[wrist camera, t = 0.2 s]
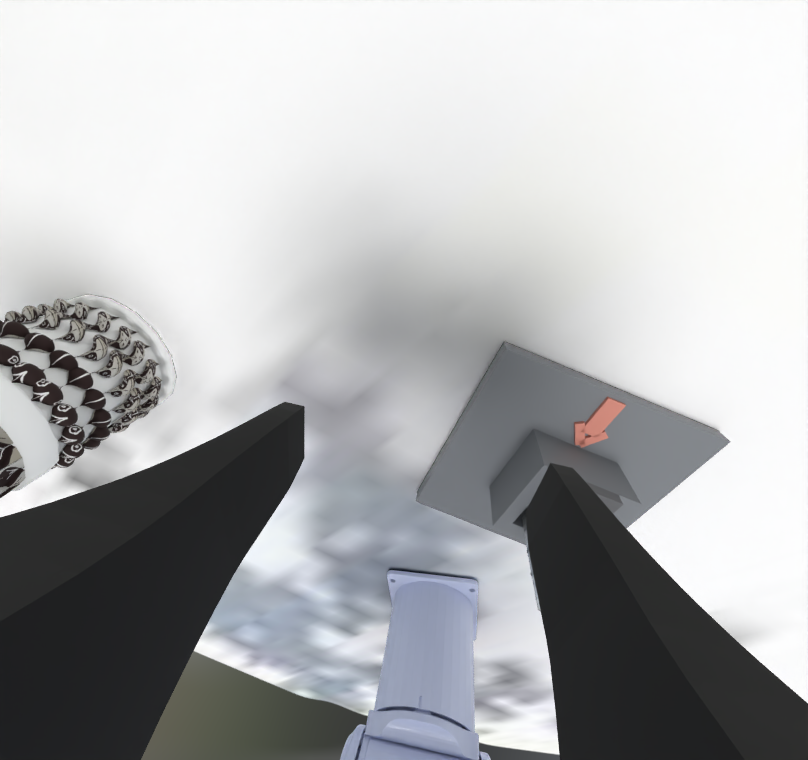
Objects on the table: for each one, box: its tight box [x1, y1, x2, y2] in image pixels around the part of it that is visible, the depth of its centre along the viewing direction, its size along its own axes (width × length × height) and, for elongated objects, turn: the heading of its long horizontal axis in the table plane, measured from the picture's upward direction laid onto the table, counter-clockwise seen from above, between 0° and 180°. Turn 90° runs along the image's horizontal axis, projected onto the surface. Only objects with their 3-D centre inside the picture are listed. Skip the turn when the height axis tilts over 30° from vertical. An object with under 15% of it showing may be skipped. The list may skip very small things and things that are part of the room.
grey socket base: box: [416, 341, 730, 545], centre depth 19 cm, size 13×13×5 cm
